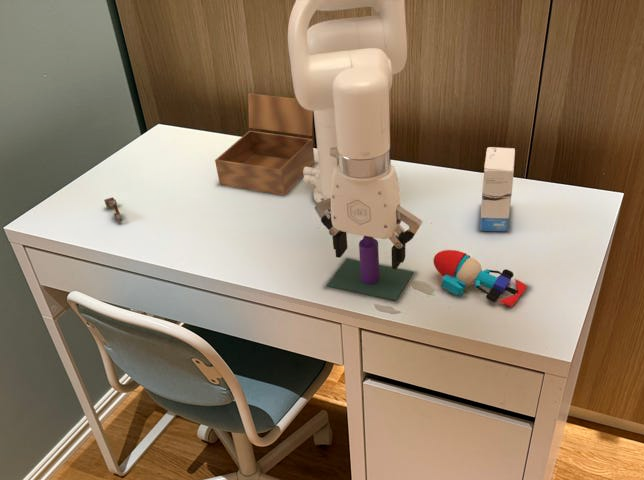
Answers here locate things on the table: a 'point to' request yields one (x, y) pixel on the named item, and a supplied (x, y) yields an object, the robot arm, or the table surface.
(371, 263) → the purple bottle
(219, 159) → the brown wooden open box
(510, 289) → the toy figure
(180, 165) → the table surface
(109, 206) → the wooden post with brackets
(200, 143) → the table surface
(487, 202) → the ink box
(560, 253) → the table surface
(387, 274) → the drawing mat
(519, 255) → the table surface
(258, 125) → the wooden box lid
